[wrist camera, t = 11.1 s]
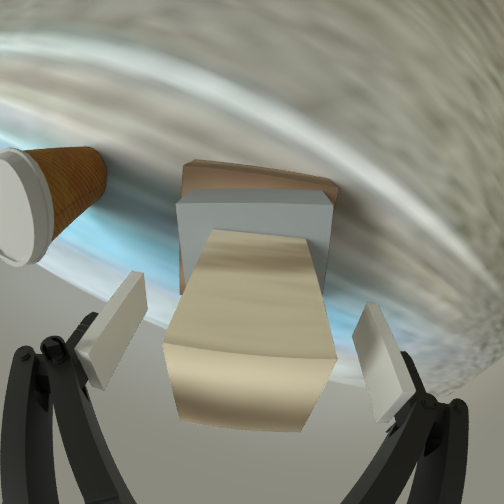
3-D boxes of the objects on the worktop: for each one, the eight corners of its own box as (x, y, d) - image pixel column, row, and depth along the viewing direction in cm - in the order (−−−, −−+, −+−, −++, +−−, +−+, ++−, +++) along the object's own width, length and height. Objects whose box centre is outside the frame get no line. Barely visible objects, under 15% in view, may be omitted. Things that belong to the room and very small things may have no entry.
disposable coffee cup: (45, 183, 24) (-30, 221, 14) (78, 114, 21) (-12, 127, 10) (95, 234, 27) (27, 293, 16) (137, 167, 23) (54, 207, 13)
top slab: (191, 189, 21) (175, 203, 17) (322, 190, 20) (333, 205, 16) (202, 296, 25) (192, 324, 21) (311, 299, 24) (316, 328, 21)
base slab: (196, 158, 23) (183, 165, 20) (328, 177, 23) (338, 188, 20) (190, 273, 29) (179, 294, 25) (301, 289, 29) (305, 312, 25)
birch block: (212, 229, 17) (162, 342, 9) (305, 238, 17) (337, 359, 9) (211, 303, 20) (180, 420, 11) (291, 311, 20) (300, 432, 11)
